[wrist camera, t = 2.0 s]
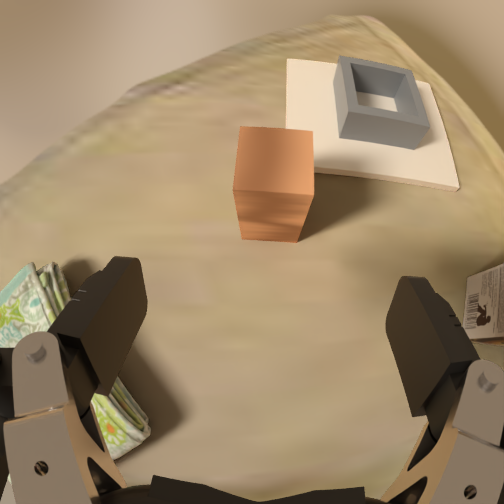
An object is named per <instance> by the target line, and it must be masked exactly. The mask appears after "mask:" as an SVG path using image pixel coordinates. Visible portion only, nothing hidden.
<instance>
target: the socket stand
mask: <svg viewBox="0 0 504 504" xmlns="http://www.w3.org/2000/svg"><path fill="white" fill-rule="evenodd" d="M286 129H295V130H307V131H313V151H314V172H315V173H325V174H335V175H345V176H354V177H362V178H370V179H378V180H385V181H392V182H399V183H406V184H412V185H418V186H425V187H430V188H436V189H442V190H447V191H453V192H455V191H457V190H458V189H459V188H460V187H459V182H458V178H457V173H456V169H455V165H454V161H453V157H452V153H451V149H450V146H449V142H448V139H447V135H446V132H445V128H444V125H443V122H442V119H441V116H440V113H439V110H438V107H437V104H436V101H435V98H434V96H433V93H432V90H431V88H430V85H429V84H428V83H425V82H421V81H418V80H415V79H414V76H413V73H412V71H411V70H408V69H404V68H400V67H396V66H391V65H387V64H382V63H378V62H373V61H368V60H363V59H357V58H351V57H345V56H339V59H338V63H337V64H334V63H326V62H318V61H309V60H299V59H287V87H286Z"/></svg>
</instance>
